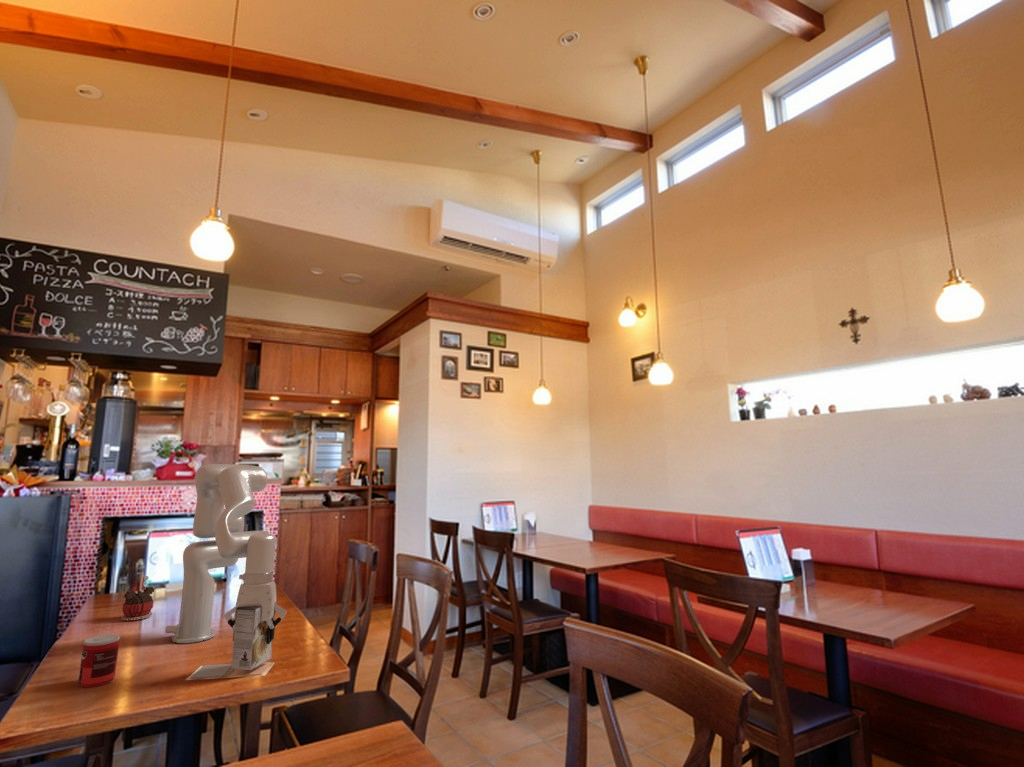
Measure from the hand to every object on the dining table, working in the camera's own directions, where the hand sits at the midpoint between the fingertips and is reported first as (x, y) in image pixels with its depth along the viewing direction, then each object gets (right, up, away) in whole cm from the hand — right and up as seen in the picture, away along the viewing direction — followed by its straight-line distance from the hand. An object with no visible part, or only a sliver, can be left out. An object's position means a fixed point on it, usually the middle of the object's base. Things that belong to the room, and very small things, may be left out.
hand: (253, 642), depth 147 cm
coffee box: (0, -6, -1) cm, 6 cm away
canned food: (-38, -7, -8) cm, 40 cm away
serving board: (-5, -8, -2) cm, 10 cm away
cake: (-70, -16, +51) cm, 88 cm away
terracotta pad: (0, -7, -1) cm, 7 cm away
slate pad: (-10, -7, -3) cm, 12 cm away
